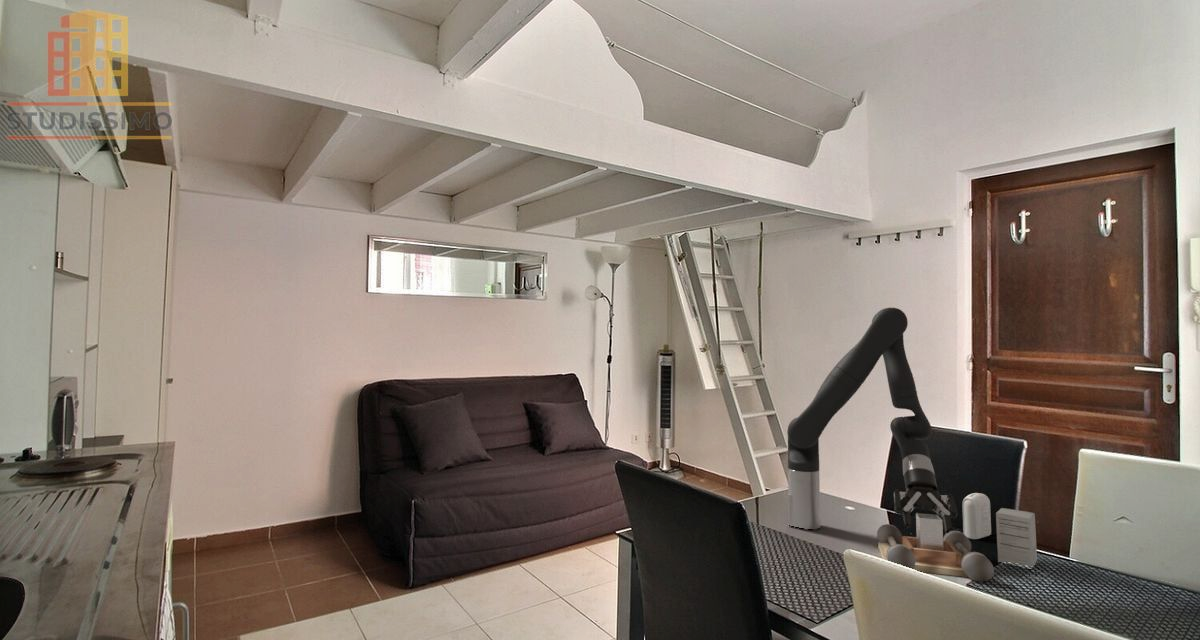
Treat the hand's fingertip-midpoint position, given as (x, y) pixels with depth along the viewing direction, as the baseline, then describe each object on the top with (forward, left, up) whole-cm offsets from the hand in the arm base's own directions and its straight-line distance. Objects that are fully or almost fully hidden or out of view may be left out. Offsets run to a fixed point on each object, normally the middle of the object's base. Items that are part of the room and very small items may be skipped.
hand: (928, 529), depth 144 cm
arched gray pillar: (+18, +31, -9) cm, 37 cm away
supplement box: (+21, +8, -9) cm, 24 cm away
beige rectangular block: (0, 0, -7) cm, 7 cm away
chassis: (0, 0, -8) cm, 8 cm away
